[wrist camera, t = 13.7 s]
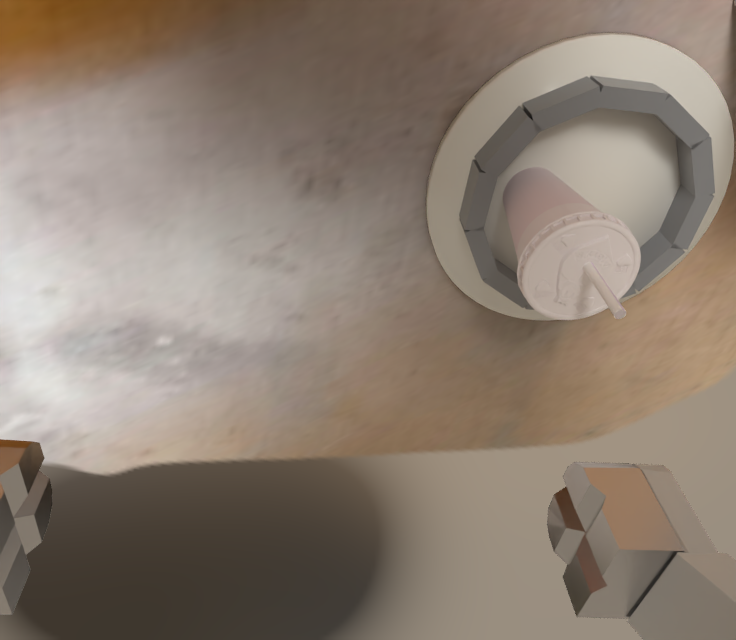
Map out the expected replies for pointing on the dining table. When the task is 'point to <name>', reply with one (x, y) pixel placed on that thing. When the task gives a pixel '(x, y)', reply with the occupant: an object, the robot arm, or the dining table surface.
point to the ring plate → (582, 157)
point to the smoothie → (567, 248)
